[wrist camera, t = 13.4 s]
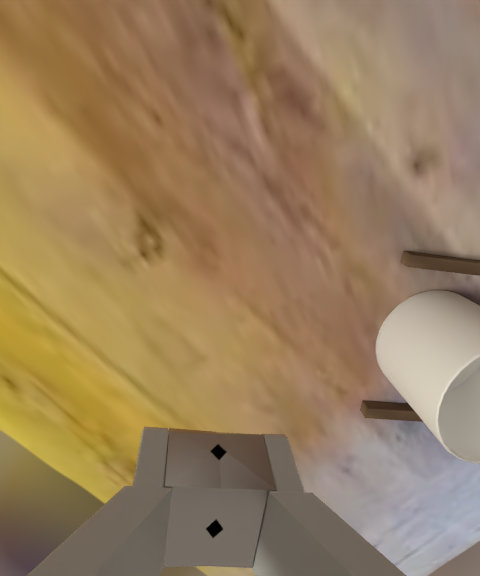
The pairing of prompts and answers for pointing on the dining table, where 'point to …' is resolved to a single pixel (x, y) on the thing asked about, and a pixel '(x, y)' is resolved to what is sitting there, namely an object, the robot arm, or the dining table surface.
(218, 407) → the dining table surface
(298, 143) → the dining table surface
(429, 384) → the cup
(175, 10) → the dining table surface
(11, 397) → the dining table surface
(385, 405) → the corral
